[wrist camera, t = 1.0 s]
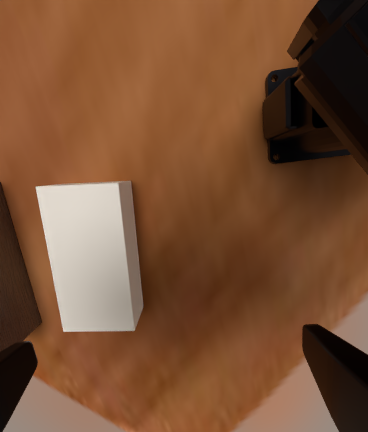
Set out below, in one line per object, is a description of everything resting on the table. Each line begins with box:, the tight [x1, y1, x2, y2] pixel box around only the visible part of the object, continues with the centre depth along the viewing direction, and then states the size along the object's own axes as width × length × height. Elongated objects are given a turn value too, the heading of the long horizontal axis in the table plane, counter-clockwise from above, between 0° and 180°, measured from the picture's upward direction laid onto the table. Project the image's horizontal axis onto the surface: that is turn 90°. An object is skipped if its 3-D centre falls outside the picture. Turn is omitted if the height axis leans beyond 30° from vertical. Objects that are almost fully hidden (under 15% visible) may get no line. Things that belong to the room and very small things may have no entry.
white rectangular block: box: [36, 181, 143, 332], centre depth 18 cm, size 6×12×4 cm, turn 3°
